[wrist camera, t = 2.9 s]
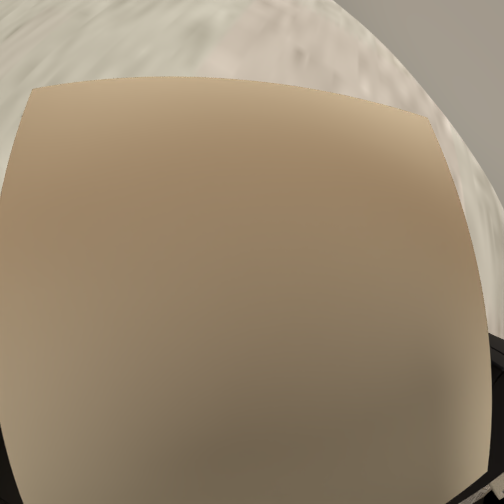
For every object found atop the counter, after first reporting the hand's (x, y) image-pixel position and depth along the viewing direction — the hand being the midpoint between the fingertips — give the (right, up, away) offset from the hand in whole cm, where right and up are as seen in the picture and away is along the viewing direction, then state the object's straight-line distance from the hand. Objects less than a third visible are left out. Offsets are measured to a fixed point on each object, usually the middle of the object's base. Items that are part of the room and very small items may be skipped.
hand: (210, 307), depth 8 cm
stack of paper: (-1, -3, +6) cm, 6 cm away
